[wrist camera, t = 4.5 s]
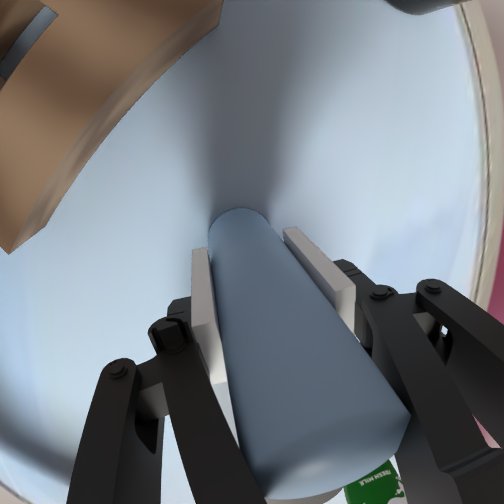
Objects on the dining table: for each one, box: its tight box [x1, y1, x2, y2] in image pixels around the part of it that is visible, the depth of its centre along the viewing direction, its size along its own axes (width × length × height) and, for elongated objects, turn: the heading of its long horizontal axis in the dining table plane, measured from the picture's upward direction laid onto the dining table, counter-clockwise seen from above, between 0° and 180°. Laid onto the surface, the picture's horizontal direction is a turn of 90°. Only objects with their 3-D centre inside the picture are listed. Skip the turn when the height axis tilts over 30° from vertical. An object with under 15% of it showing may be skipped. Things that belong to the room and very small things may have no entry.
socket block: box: [0, 0, 224, 255], centre depth 10 cm, size 17×17×5 cm
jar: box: [210, 378, 343, 504], centre depth 19 cm, size 9×8×12 cm
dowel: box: [208, 208, 411, 499], centre depth 12 cm, size 4×4×15 cm
